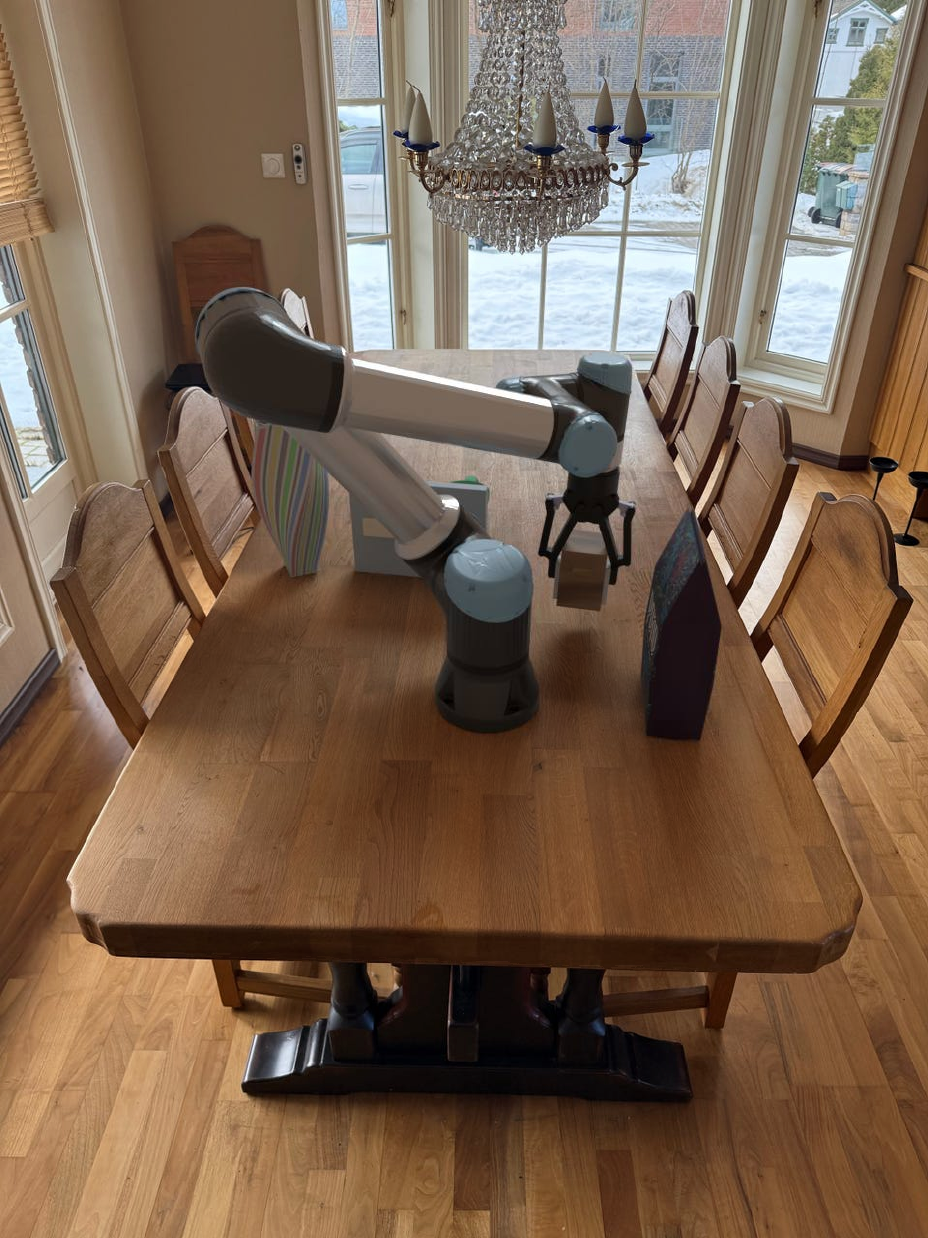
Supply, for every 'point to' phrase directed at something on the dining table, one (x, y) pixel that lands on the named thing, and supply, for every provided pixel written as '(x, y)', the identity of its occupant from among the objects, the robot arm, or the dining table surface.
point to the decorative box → (680, 638)
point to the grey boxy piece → (379, 544)
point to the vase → (290, 497)
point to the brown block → (582, 571)
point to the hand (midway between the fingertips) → (579, 597)
